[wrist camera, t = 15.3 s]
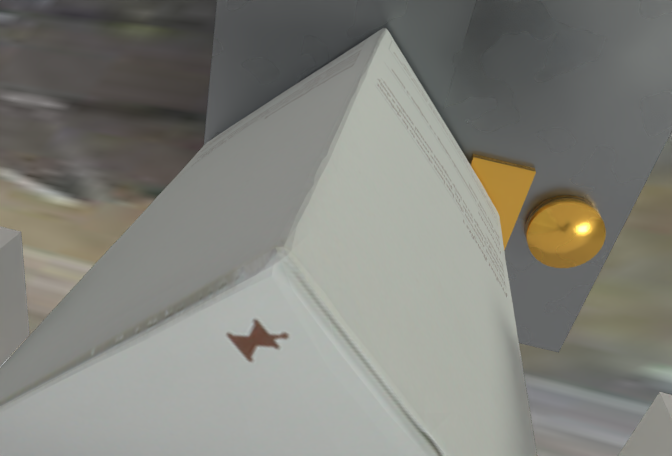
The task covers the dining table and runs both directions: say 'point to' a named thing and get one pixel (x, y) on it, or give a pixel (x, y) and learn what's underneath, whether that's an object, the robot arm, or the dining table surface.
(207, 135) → the block
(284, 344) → the supplement box
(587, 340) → the dining table surface
